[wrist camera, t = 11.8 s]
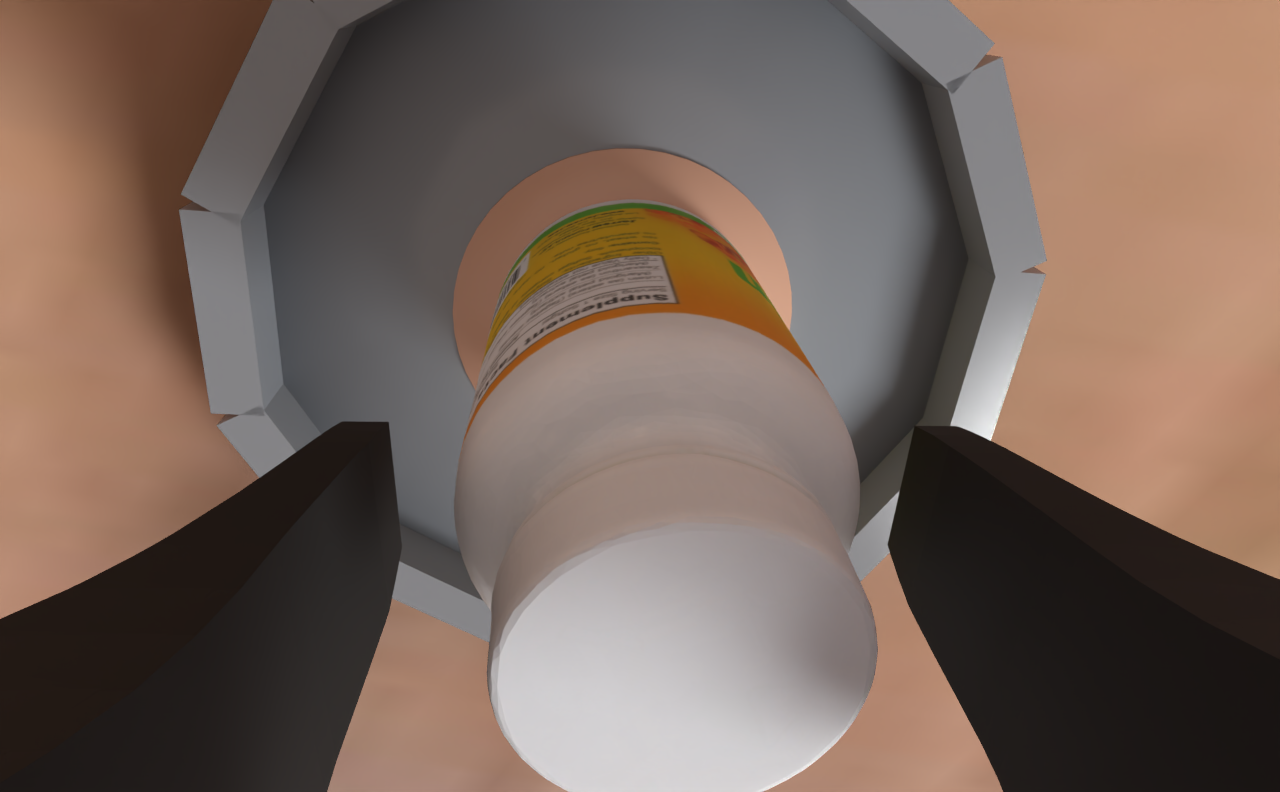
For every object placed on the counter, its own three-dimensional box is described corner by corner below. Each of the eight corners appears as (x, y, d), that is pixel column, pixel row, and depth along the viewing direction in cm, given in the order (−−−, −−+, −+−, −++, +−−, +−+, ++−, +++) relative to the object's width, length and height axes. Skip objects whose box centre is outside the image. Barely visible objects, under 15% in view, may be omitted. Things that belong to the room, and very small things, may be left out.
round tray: (1093, -73, 15) (1164, -82, 13) (889, 604, 22) (917, 658, 20) (174, -189, 13) (111, -217, 11) (276, 587, 20) (247, 645, 18)
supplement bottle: (786, 386, 18) (992, 770, 9) (559, 469, 18) (547, 907, 10) (709, 149, 15) (892, 364, 7) (450, 253, 16) (302, 577, 7)
